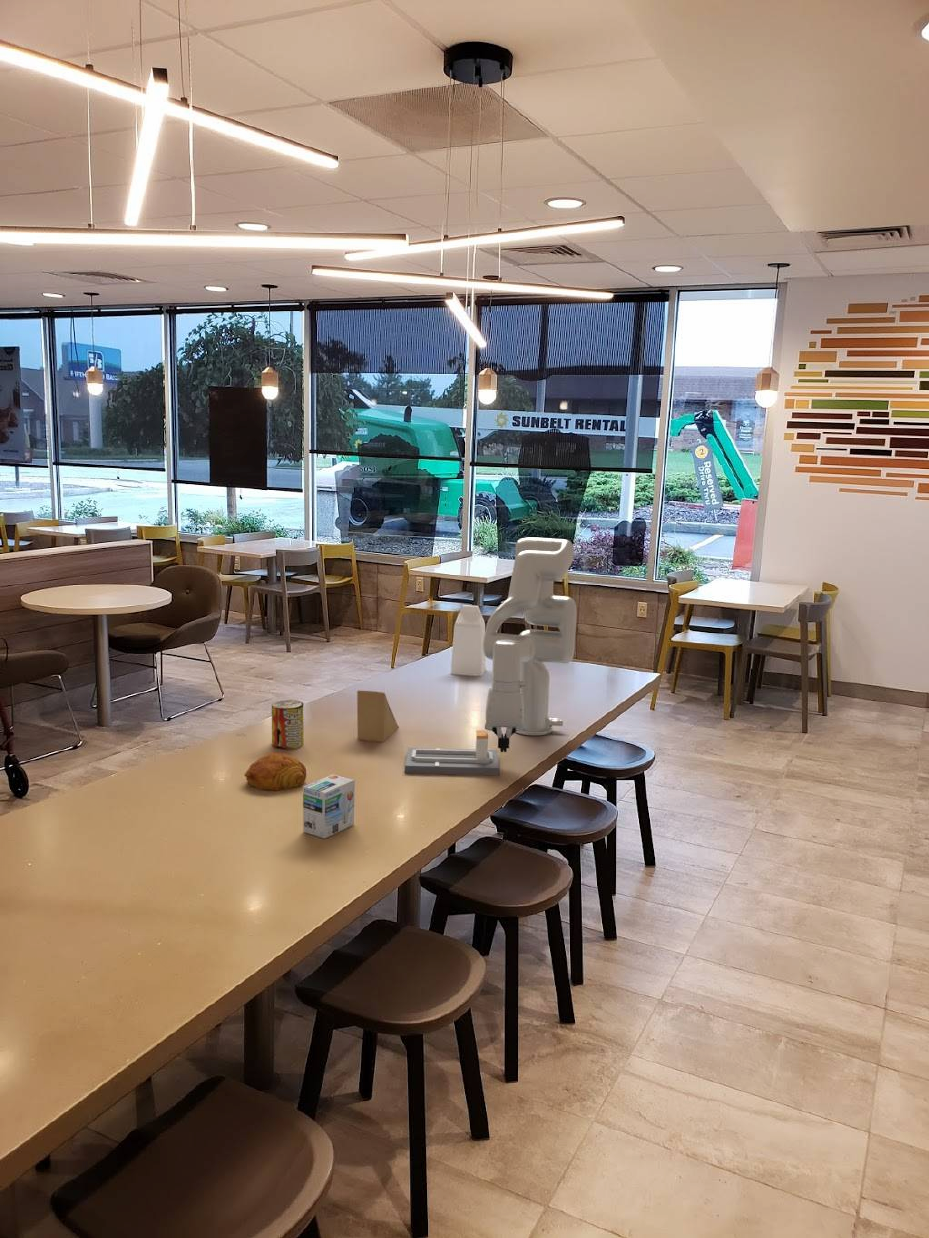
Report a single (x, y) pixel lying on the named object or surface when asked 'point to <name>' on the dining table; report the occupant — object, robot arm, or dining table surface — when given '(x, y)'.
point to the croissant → (276, 772)
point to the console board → (450, 761)
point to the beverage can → (287, 724)
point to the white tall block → (468, 643)
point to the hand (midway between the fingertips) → (503, 750)
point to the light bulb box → (328, 806)
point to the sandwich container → (374, 716)
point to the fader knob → (481, 744)
